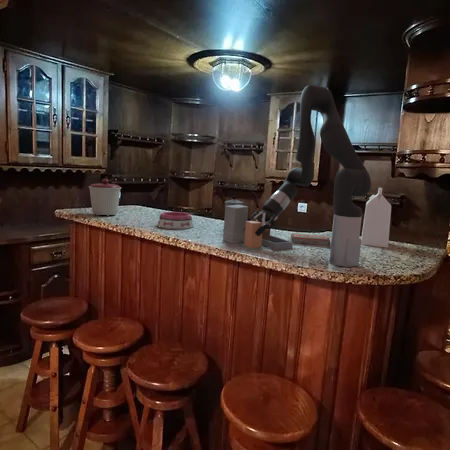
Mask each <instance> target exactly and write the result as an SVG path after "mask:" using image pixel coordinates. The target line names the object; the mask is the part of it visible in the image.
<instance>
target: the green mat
mask: <svg viewBox="0 0 450 450" xmlns="http://www.w3.org/2000/svg"><path fill="white" fill-rule="evenodd" d="M237 246H240V247H243V248H245V249H248V250H250V251H255V250H268V247H265V246H262V245H261V248H249V247H247V246H244V243H239V244H238V243H237Z"/></svg>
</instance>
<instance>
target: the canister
mask: <svg viewBox="0 0 450 450" xmlns="http://www.w3.org/2000/svg"><path fill="white" fill-rule="evenodd" d="M88 188H89V194H90V203H91V205H90V206H91V211H92V214H93V215H95V214H96V215H95V216H97V215H114V216H116V215H117V214H118V211H119V205H120V204H119V202H120V194H121V189H122V187H121V186H120V185H119V184H115V183H109V179H107V178H102V180H101V183H93V184H90V185H89V186H88ZM115 214H116V215H115Z"/></svg>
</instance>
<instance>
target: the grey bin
mask: <svg viewBox="0 0 450 450" xmlns="http://www.w3.org/2000/svg"><path fill="white" fill-rule="evenodd" d="M261 246H262V247H265V248H267V249H271V250H274V251H277V250H287V249H290V250H291V249H293V246H294V245H293V242H290V241H288V239H284V238H281V237H277V236H275V235H272V234H270V241H267V240H264V239H262V245H261Z"/></svg>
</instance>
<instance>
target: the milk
mask: <svg viewBox="0 0 450 450" xmlns="http://www.w3.org/2000/svg"><path fill="white" fill-rule="evenodd" d="M368 199H369V200H368V201H366V203H365V210H364V216H363V217H364V218H363V226H362V230H361V231H362V232H361V238H360V239H361V246H362V245H364V246H370V247H371V246H373V247H381V248H389V242H390V241H389V240H390V231H391V230H390V228H391V216H392V204H391V203H390V202H389V201H388V200H387V199H386V198H385V196H384V195H383V188H382V187H378V190H377V194H372V195H371V196H370V197H369V198H368Z"/></svg>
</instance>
